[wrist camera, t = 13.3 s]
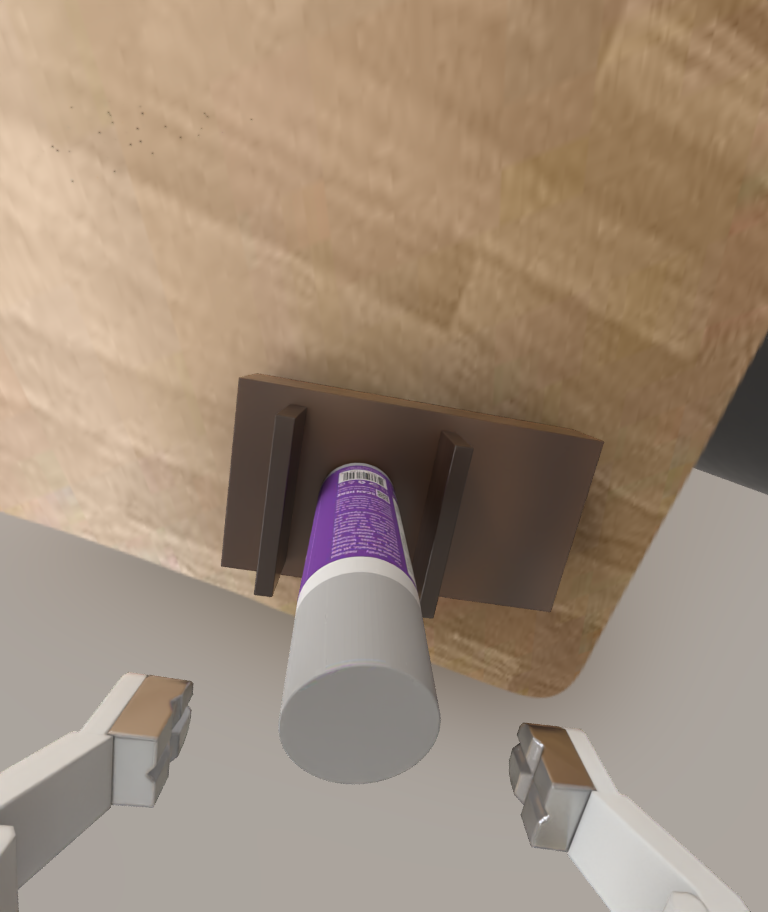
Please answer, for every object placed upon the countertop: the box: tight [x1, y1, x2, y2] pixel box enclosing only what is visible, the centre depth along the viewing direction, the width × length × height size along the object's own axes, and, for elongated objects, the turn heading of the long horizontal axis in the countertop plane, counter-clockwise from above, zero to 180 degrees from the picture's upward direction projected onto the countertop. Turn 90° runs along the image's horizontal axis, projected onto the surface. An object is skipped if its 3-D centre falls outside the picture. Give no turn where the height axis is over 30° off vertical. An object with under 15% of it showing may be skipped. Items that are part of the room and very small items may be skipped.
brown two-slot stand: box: [221, 373, 604, 618], centre depth 26 cm, size 22×12×8 cm, turn 80°
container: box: [278, 463, 440, 784], centre depth 19 cm, size 5×5×15 cm
